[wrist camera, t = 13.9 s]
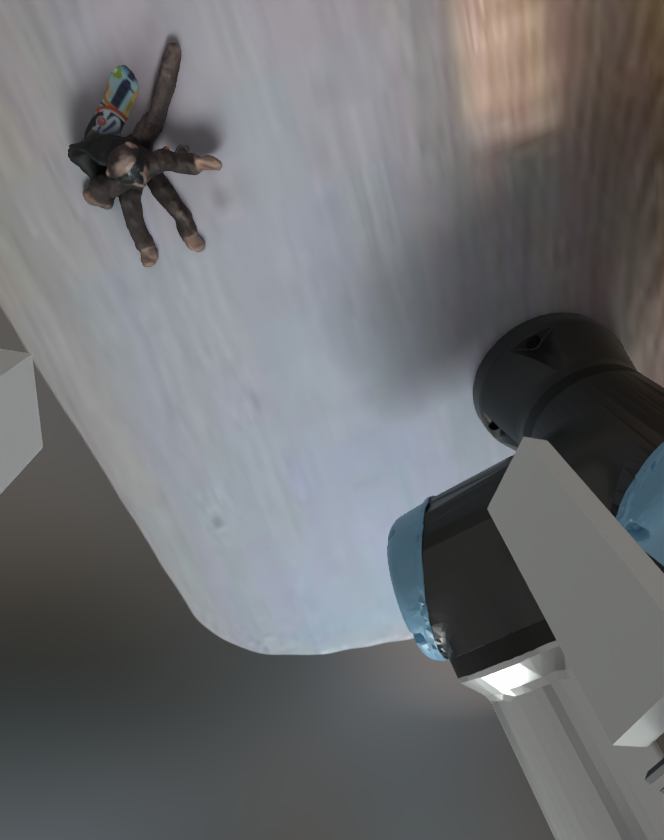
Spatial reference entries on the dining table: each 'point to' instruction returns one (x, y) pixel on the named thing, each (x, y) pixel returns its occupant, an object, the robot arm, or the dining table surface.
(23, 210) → the dining table surface
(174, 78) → the stuffed animal
